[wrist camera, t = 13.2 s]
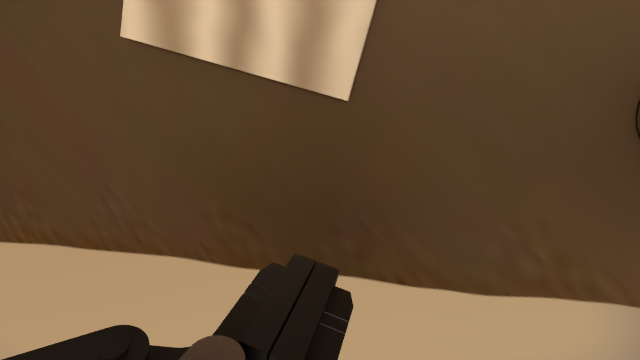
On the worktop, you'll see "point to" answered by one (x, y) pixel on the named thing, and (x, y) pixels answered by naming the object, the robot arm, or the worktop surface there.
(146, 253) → the worktop surface
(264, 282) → the robot arm
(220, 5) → the striped cutting board
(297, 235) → the worktop surface
